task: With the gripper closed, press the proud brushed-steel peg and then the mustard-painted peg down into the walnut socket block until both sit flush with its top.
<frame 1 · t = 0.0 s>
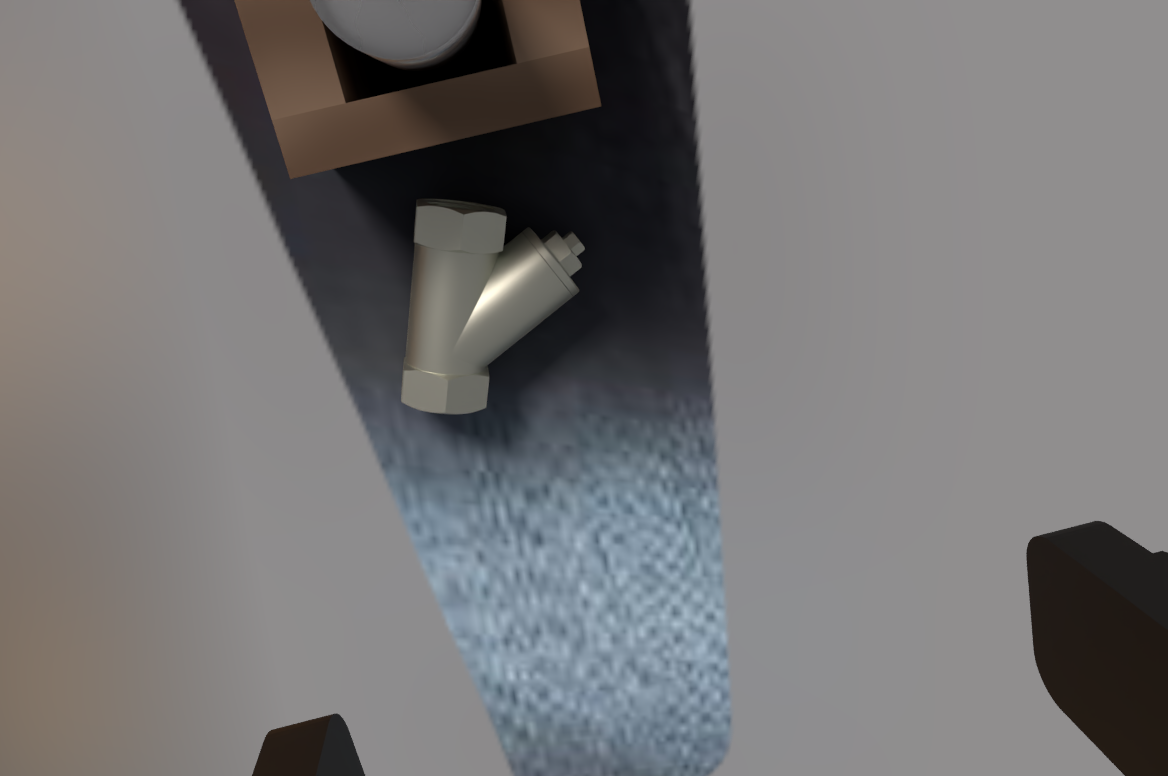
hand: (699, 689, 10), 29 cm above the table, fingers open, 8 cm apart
pipe fitting: (492, 299, 39), on the table
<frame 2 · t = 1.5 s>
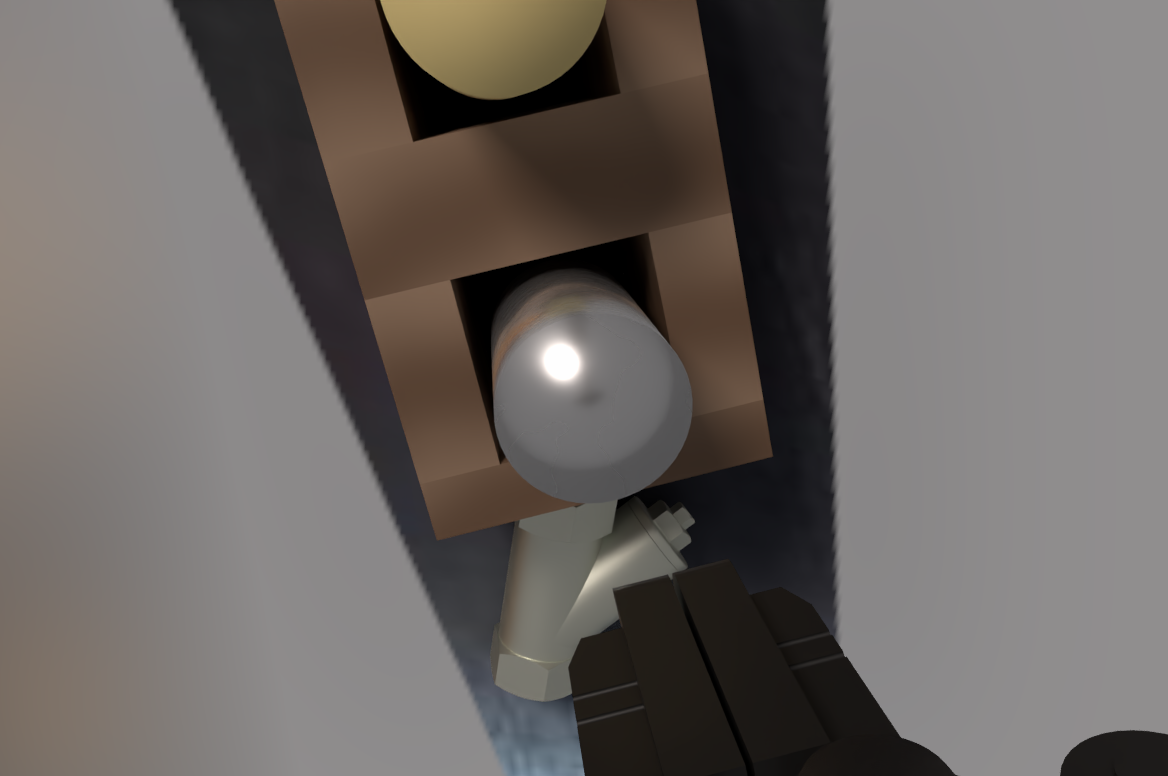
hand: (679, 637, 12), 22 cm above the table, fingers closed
pipe fitting: (587, 557, 36), on the table
socket block: (520, 169, 31), on the table
steel peg: (577, 366, 24), point 9 cm above the table, slide at 5.0 cm
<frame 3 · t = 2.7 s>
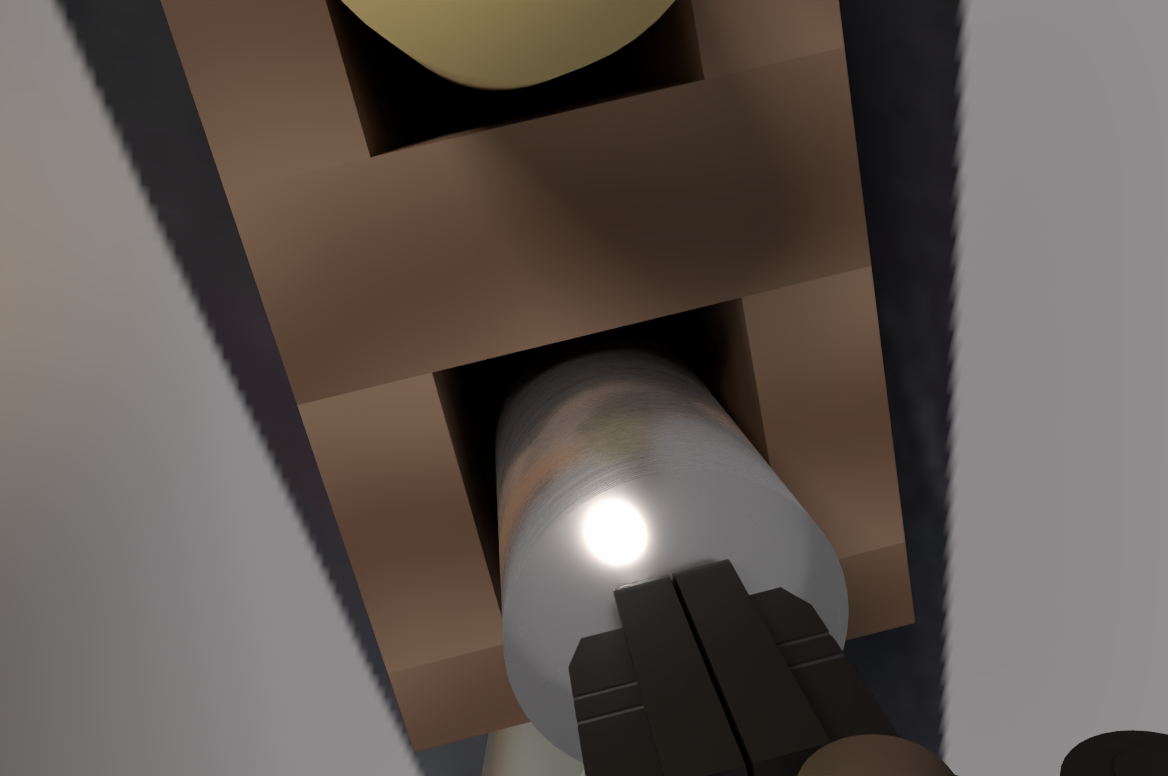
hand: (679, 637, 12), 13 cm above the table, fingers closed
pipe fitting: (598, 689, 28), on the table
socket block: (535, 188, 23), on the table
steel peg: (632, 509, 15), point 9 cm above the table, slide at 4.9 cm, touching gripper
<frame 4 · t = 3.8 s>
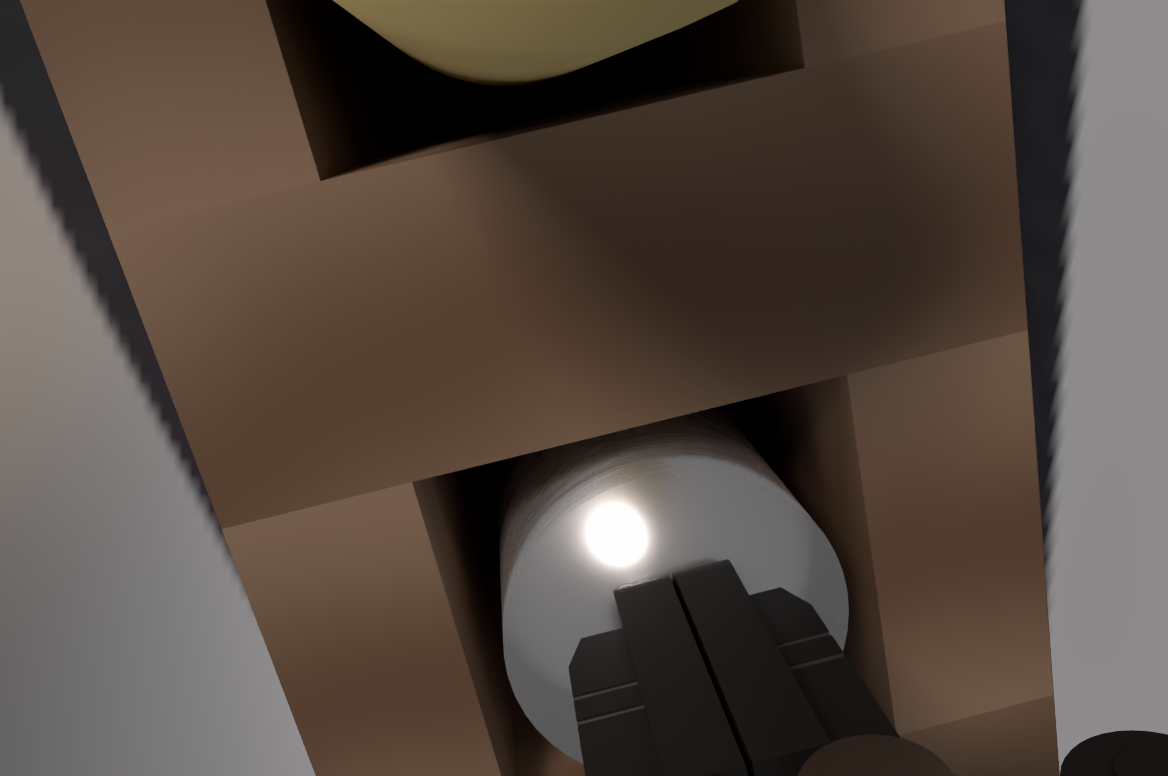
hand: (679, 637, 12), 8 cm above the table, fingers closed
socket block: (549, 210, 18), on the table
steel peg: (632, 510, 15), point 5 cm above the table, slide at 0.2 cm, touching gripper
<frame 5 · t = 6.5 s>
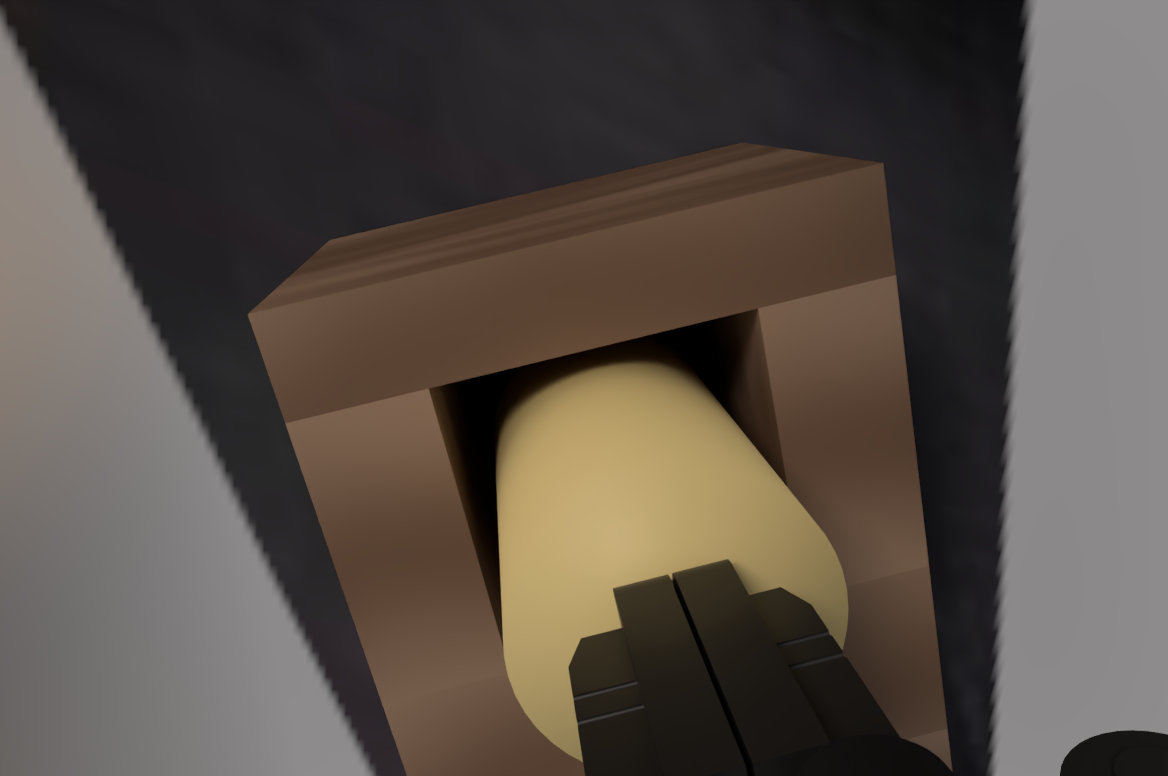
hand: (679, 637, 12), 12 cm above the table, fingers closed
mustard peg: (631, 508, 15), point 8 cm above the table, slide at 3.9 cm, touching gripper
socket block: (616, 526, 24), on the table
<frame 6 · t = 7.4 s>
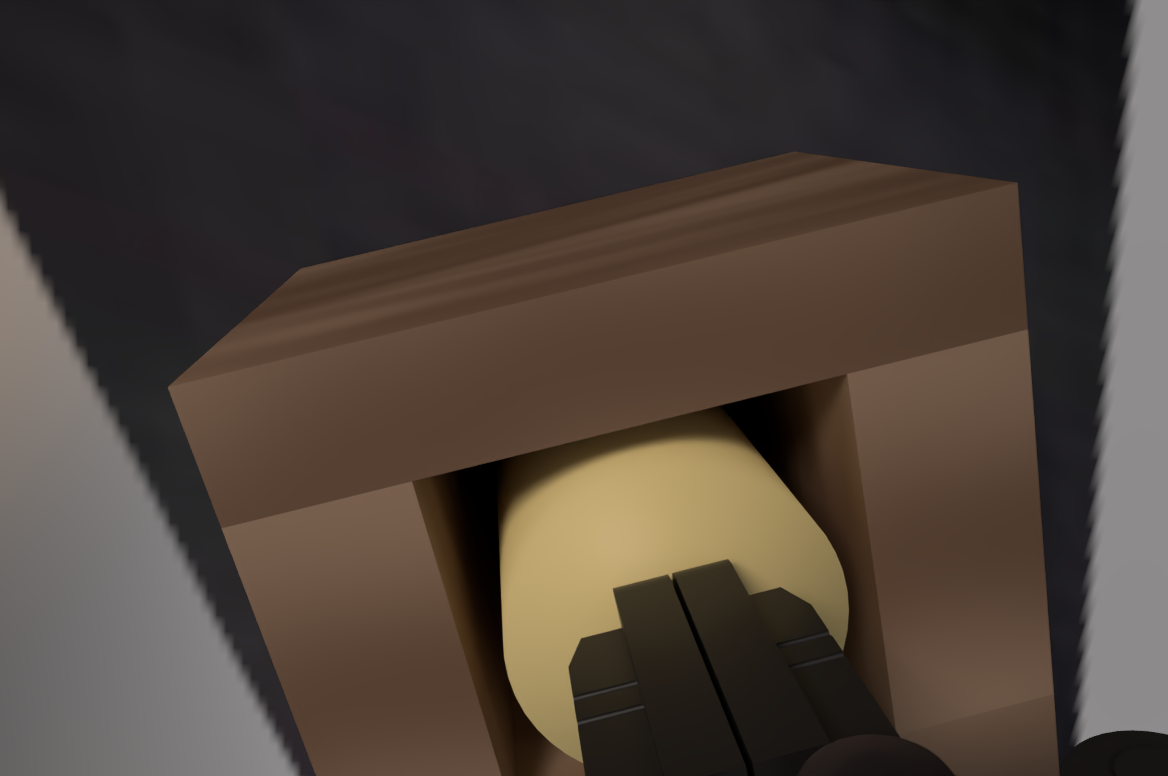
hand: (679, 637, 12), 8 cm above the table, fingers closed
mustard peg: (632, 509, 15), point 5 cm above the table, slide at 0.2 cm, touching gripper
socket block: (639, 600, 21), on the table
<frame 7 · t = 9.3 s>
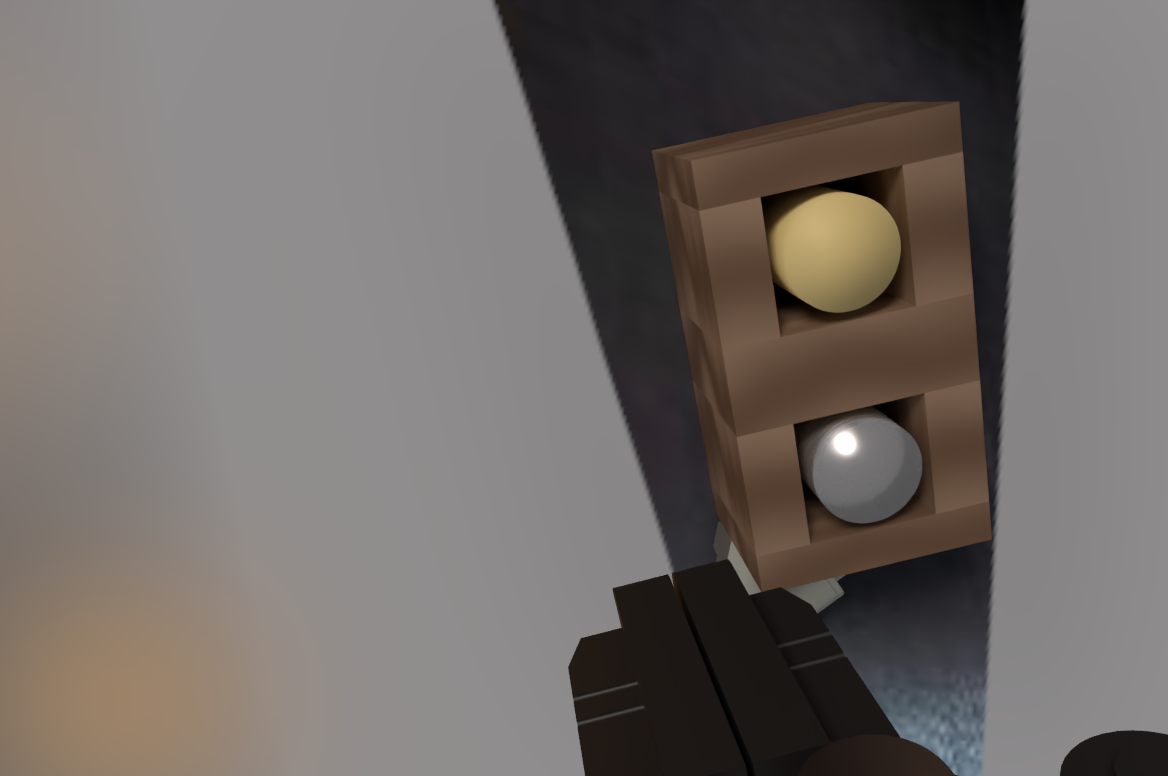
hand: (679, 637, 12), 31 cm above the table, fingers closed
mustard peg: (809, 240, 38), point 5 cm above the table, slide at 0.1 cm
pipe fitting: (760, 585, 48), on the table
socket block: (788, 320, 43), on the table
steel peg: (835, 440, 40), point 5 cm above the table, slide at 0.1 cm
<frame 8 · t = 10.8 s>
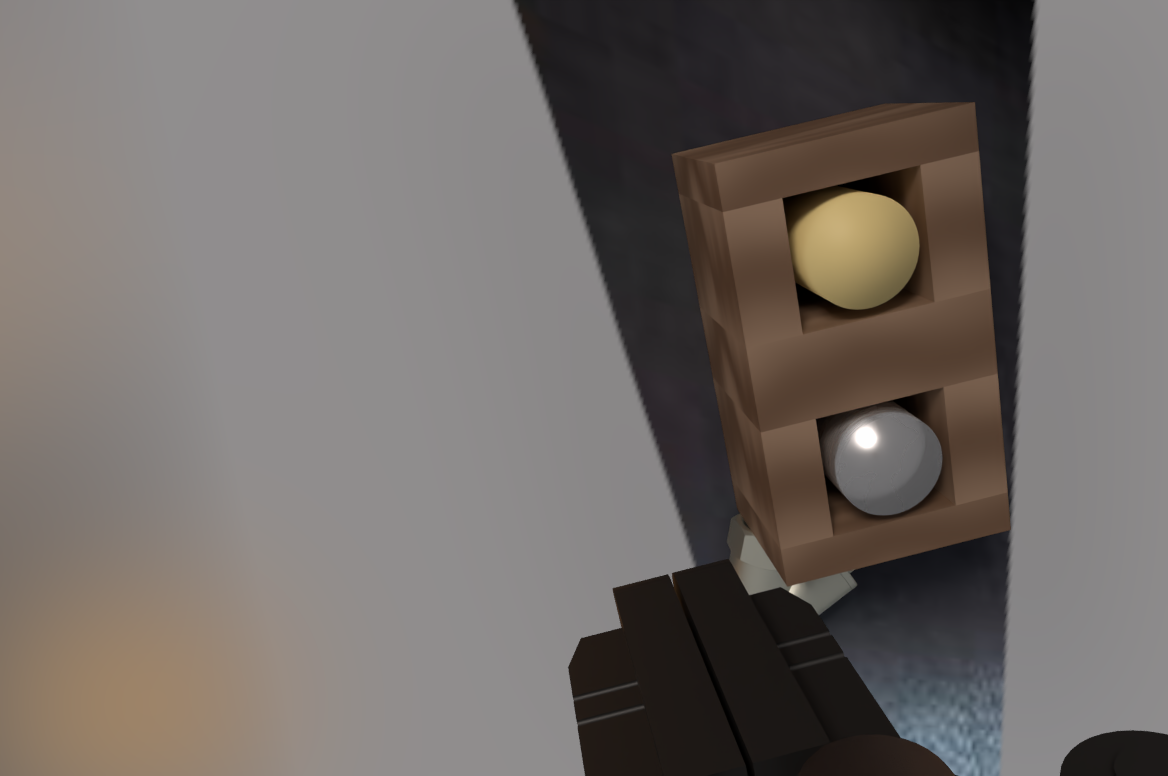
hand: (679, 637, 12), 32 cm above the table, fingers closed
mustard peg: (828, 239, 39), point 5 cm above the table, slide at 0.1 cm
pipe fitting: (774, 578, 49), on the table
socket block: (806, 318, 44), on the table
steel peg: (855, 435, 41), point 5 cm above the table, slide at 0.1 cm
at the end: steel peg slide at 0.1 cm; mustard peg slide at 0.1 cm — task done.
